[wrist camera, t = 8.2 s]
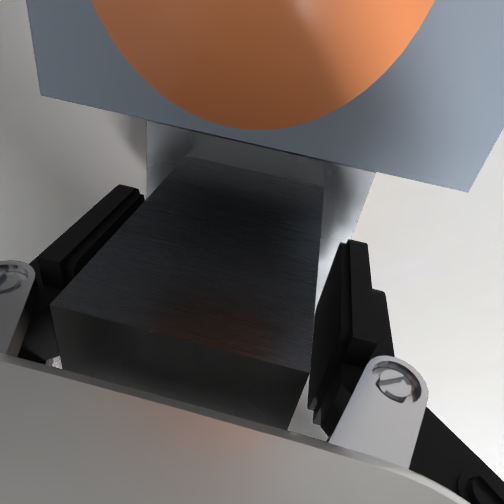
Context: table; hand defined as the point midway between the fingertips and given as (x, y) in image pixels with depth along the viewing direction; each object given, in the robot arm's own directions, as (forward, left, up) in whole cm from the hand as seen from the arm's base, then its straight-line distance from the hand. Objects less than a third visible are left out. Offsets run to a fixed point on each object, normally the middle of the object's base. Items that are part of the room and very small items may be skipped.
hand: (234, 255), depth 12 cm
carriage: (0, 0, -4) cm, 4 cm away
